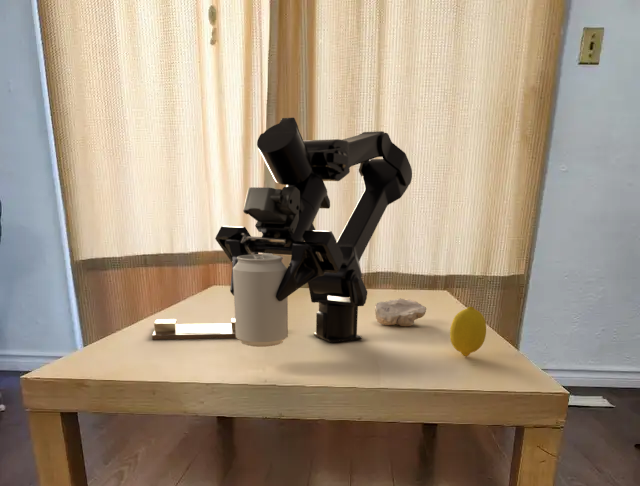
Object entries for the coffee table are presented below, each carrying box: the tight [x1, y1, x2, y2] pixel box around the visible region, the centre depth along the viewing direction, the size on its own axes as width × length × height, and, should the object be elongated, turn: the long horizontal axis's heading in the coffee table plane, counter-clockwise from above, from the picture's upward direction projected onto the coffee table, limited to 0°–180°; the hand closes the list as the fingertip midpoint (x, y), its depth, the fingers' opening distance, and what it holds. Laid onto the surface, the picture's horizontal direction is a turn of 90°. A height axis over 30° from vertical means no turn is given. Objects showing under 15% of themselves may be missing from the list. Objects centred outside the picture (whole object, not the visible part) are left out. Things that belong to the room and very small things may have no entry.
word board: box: [151, 317, 237, 341], centre depth 105 cm, size 22×9×2 cm, turn 99°
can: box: [233, 253, 289, 348], centre depth 81 cm, size 8×8×12 cm
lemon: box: [449, 305, 487, 357], centre depth 91 cm, size 6×6×8 cm
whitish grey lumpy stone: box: [374, 298, 427, 327], centre depth 115 cm, size 9×6×10 cm
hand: (254, 296), depth 79 cm, fingers closed on can, 7 cm apart
